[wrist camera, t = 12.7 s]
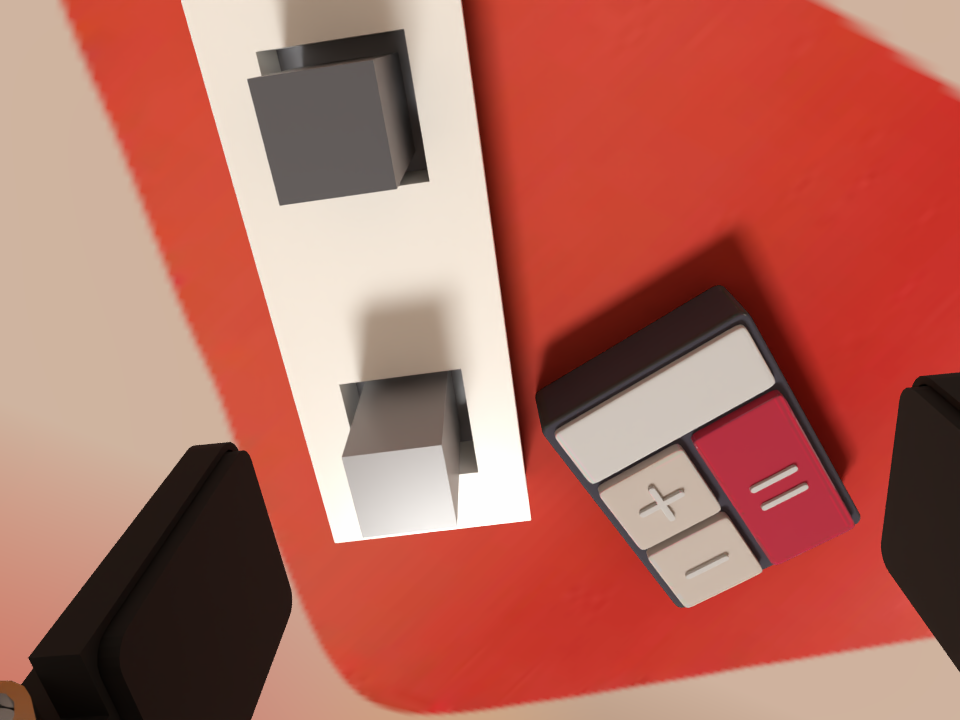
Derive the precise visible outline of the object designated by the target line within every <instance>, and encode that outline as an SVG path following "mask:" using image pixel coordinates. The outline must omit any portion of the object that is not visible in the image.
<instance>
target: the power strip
mask: <svg viewBox="0 0 960 720" xmlns="http://www.w3.org/2000/svg"><path fill="white" fill-rule="evenodd" d="M181 2H182V6H183V9H184V13H185V16H186V20H187V23H188V27H189V30H190V34H191V37H192V41H193V44H194V48H195V51H196V55H197V58H198V62H199V66H200V69H201V73H202V76H203V80H204V83H205V87H206V90H207V94H208V97H209V101H210V104H211V108H212V111H213V115H214V118H215V122H216V125H217V129H218V133H219V136H220V140H221V143H222V147H223V150H224V154H225V157H226V161H227V164H228V168H229V171H230V175H231V178H232V182H233V185H234V189H235V192H236V196H237V199H238V203H239V207H240V210H241V214H242V217H243V221H244V224H245V228H246V231H247V235H248V238H249V242H250V245H251V249H252V252H253V256H254V259H255V263H256V266H257V270H258V273H259V277H260V281H261V284H262V288H263V291H264V295H265V298H266V302H267V305H268V309H269V312H270V316H271V319H272V323H273V326H274V330H275V333H276V337H277V340H278V344H279V347H280V351H281V355H282V358H283V362H284V365H285V369H286V372H287V376H288V379H289V383H290V386H291V390H292V393H293V397H294V400H295V404H296V407H297V411H298V414H299V418H300V421H301V425H302V429H303V432H304V436H305V439H306V443H307V446H308V450H309V453H310V457H311V460H312V464H313V467H314V471H315V474H316V478H317V481H318V485H319V488H320V492H321V496H322V499H323V503H324V506H325V510H326V513H327V517H328V520H329V524H330V527H331V531H332V534H333V538H334V541H335V543H341V542H350V541H358V540H367V539H375V538H384V537H392V536H401V535H409V534H418V533H426V532H435V531H443V530H452V529H461V528H469V527H478V526H486V525H495V524H503V523H512V522H520V521H529V520H531V516H530V507H529V498H528V489H527V481H526V472H525V465H524V458H523V450H522V443H521V435H520V428H519V420H518V413H517V406H516V398H515V391H514V383H513V376H512V368H511V361H510V354H509V346H508V339H507V331H506V324H505V316H504V309H503V302H502V294H501V287H500V279H499V272H498V265H497V257H496V250H495V242H494V235H493V227H492V220H491V213H490V205H489V198H488V190H487V183H486V175H485V168H484V161H483V153H482V146H481V138H480V131H479V123H478V116H477V109H476V101H475V94H474V86H473V79H472V71H471V64H470V57H469V49H468V42H467V34H466V27H465V20H464V12H463V5H462V0H181ZM395 52H398V54H399V59H400V65H401V71H402V77H403V83H404V88H405V94H406V100H407V106H408V112H409V118H410V123H411V129H412V135H413V141H414V147H415V153H414V155H413V157H412V159H411V161H410V163H409V165H408V168H407V170H406V172H405V174H404V176H403V178H402V180H401V182H400V184H399V186H398V188H397V189H394V190H387V191H380V192H373V193H366V194H359V195H352V196H345V197H338V198H331V199H324V200H317V201H310V202H303V203H296V204H289V205H282V206H280V205H279V201H278V198H277V194H276V190H275V186H274V182H273V178H272V174H271V170H270V167H269V163H268V159H267V155H266V151H265V147H264V143H263V139H262V136H261V132H260V128H259V124H258V120H257V116H256V112H255V108H254V105H253V101H252V97H251V93H250V89H249V85H248V81H247V79H249V78H254V77H258V76H263V75H267V74H271V73H276V72H280V71H285V70H289V69H294V68H298V67H303V66H309V65H316V64H323V63H329V62H336V61H342V60H349V59H355V58H362V57H369V56H375V55H382V54H388V53H395ZM448 370H451V376H452V381H453V387H454V393H455V399H456V404H457V410H458V416H459V421H460V427H461V435H460V464H459V492H458V520H457V527H451V528H442V529H434V530H425V531H417V532H408V533H399V534H391V535H382V536H374V537H365V538H363V537H362V533H361V530H360V526H359V522H358V518H357V514H356V511H355V507H354V503H353V499H352V495H351V491H350V488H349V484H348V480H347V476H346V472H345V469H344V465H343V461H342V454H343V451H344V448H345V445H346V442H347V438H348V435H349V432H350V429H351V425H352V422H353V419H354V416H355V413H356V409H357V406H358V403H359V400H360V396H361V393H362V390H363V387H364V384H365V381H371V380H378V379H386V378H394V377H402V376H409V375H417V374H425V373H432V372H440V371H448Z"/></svg>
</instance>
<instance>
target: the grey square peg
mask: <svg viewBox="0 0 960 720" xmlns="http://www.w3.org/2000/svg"><path fill="white" fill-rule="evenodd" d="M460 435H461V427H460V421H459V416H458V410H457V404H456V399H455V393H454V387H453V381H452V376H451V370H448V371H440V372H432V373H425V374H417V375H409V376H402V377H394V378H386V379H378V380H371V381H365V384H364V387H363V390H362V393H361V396H360V400H359V403H358V406H357V409H356V413H355V416H354V419H353V422H352V425H351V429H350V432H349V435H348V438H347V442H346V445H345V448H344V451H343V454H342V461H343V465H344V469H345V472H346V476H347V480H348V484H349V488H350V491H351V495H352V499H353V503H354V507H355V511H356V514H357V518H358V522H359V526H360V530H361V533H362V537H363V538H365V537H374V536H382V535H391V534H399V533H408V532H417V531H425V530H434V529H442V528H451V527H457V520H458V492H459V464H460Z"/></svg>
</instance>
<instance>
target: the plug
mask: <svg viewBox="0 0 960 720" xmlns="http://www.w3.org/2000/svg"><path fill="white" fill-rule="evenodd" d="M247 81H248V85H249V89H250V93H251V97H252V101H253V105H254V108H255V112H256V116H257V120H258V124H259V128H260V132H261V136H262V139H263V143H264V147H265V151H266V155H267V159H268V163H269V167H270V170H271V174H272V178H273V182H274V186H275V190H276V194H277V198H278V201H279V205H280V206H282V205H289V204H296V203H303V202H310V201H317V200H324V199H331V198H338V197H345V196H352V195H359V194H366V193H373V192H380V191H387V190H394V189H397V188H398V186H399V184H400V182H401V180H402V178H403V176H404V174H405V172H406V170H407V168H408V165H409V163H410V161H411V159H412V157H413V155H414V153H415V147H414V141H413V135H412V129H411V123H410V118H409V112H408V106H407V100H406V94H405V88H404V83H403V77H402V71H401V65H400V59H399V54H398V52H395V53H388V54H382V55H375V56H369V57H362V58H355V59H349V60H342V61H336V62H329V63H323V64H316V65H309V66H303V67H298V68H294V69H289V70H285V71H280V72H276V73H271V74H267V75H263V76H258V77H254V78H249V79H247Z"/></svg>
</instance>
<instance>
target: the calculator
mask: <svg viewBox="0 0 960 720" xmlns="http://www.w3.org/2000/svg"><path fill="white" fill-rule="evenodd" d="M535 398H536V403H537V408H538V413H539V418H540V423H541V427H542V432H543V434H544V436H545V437H546V439H547V440H548V441H549V442H550V444H551V445H552V446H553V448H554V449H555V450H556V452H557V453H558V454H559V455H560V457H561V458H562V459H563V461H564V462H565V463H566V464H567V466H568V467H569V468H570V470H571V471H572V472H573V473H574V475H575V476H576V477H577V479H578V480H579V481H580V482H581V484H582V485H583V486H584V488H585V489H586V490H587V492H588V493H589V494H590V495H591V497H592V498H593V499H594V501H595V502H596V503H597V504H598V506H599V507H600V508H601V510H602V511H603V512H604V513H605V515H606V516H607V517H608V519H609V520H610V521H611V522H612V524H613V525H614V526H615V528H616V529H617V530H618V531H619V533H620V534H621V535H622V537H623V538H624V539H625V541H626V542H627V543H628V544H629V546H630V547H631V548H632V550H633V551H634V552H635V553H636V555H637V556H638V557H639V559H640V560H641V561H642V562H643V564H644V565H645V566H646V568H647V569H648V570H649V571H650V573H651V574H652V575H653V577H654V578H655V579H656V581H657V582H658V583H659V584H660V586H661V587H662V588H663V590H664V591H665V592H666V593H667V595H668V596H669V597H670V599H671V600H672V601H673V602H674V604H675V605H676V606H678V607H681V608H682V607H687V608H689V607H692V606H694V605H696V604H698V603H701V602H703V601H705V600H707V599H709V598H711V597H713V596H715V595H717V594H719V593H721V592H723V591H725V590H727V589H729V588H731V587H734V586H736V585H738V584H740V583H742V582H744V581H746V580H748V579H750V578H752V577H754V576H756V575H758V574H760V573H761V572H762V570H763V569H765V568H767V567H769V566H771V565H778V564H781V563H783V562H785V561H787V560H789V559H791V558H793V557H795V556H797V555H799V554H802V553H804V552H806V551H808V550H810V549H812V548H814V547H816V546H818V545H820V544H822V543H824V542H826V541H828V540H830V539H832V538H835V537H837V536H839V535H841V534H843V533H845V532H847V531H849V530H851V529H852V528H854V526H855V524H857V523H858V522H859V520H860V514H859V512H858V510H857V508H856V506H855V505H854V503H853V501H852V499H851V497H850V495H849V494H848V492H847V490H846V488H845V486H844V485H843V483H842V481H841V479H840V477H839V475H838V474H837V472H836V470H835V468H834V466H833V465H832V463H831V461H830V459H829V457H828V456H827V454H826V452H825V450H824V448H823V446H822V445H821V443H820V441H819V439H818V437H817V436H816V434H815V432H814V430H813V428H812V426H811V425H810V423H809V421H808V419H807V417H806V416H805V414H804V412H803V410H802V408H801V406H800V405H799V403H798V401H797V399H796V397H795V396H794V394H793V392H792V390H791V388H790V386H789V385H788V383H787V381H786V379H785V377H784V376H783V374H782V372H781V370H780V368H779V366H778V365H777V363H776V361H775V359H774V357H773V356H772V354H771V352H770V350H769V348H768V347H767V345H766V343H765V341H764V339H763V337H762V336H761V334H760V332H759V330H758V328H757V327H756V325H755V323H754V321H753V319H752V318H751V316H750V315H749V313H748V312H747V311H746V310H745V309H744V308H743V307H742V306H741V304H740V303H739V302H738V301H737V300H736V299H735V298H734V297H733V296H732V295H731V294H730V293H729V292H728V290H727V289H726V288H725V287H723V286H721V285H717V286H714V287H712V288H710V289H708V290H707V291H705V292H703V293H702V294H700V295H698V296H697V297H695V298H693V299H692V300H690V301H688V302H687V303H685V304H683V305H682V306H680V307H678V308H677V309H675V310H673V311H672V312H670V313H668V314H667V315H665V316H663V317H661V318H660V319H658V320H656V321H655V322H653V323H651V324H650V325H648V326H646V327H645V328H643V329H641V330H640V331H638V332H636V333H635V334H633V335H631V336H630V337H628V338H626V339H625V340H623V341H621V342H620V343H618V344H616V345H615V346H613V347H611V348H610V349H608V350H606V351H605V352H603V353H601V354H600V355H598V356H596V357H595V358H593V359H591V360H589V361H588V362H586V363H584V364H583V365H581V366H579V367H578V368H576V369H574V370H573V371H571V372H569V373H568V374H566V375H564V376H563V377H561V378H559V379H558V380H556V381H554V382H553V383H551V384H549V385H548V386H546V387H544V388H543V389H541V390H540V391H538V392H537V394H536V397H535Z"/></svg>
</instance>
